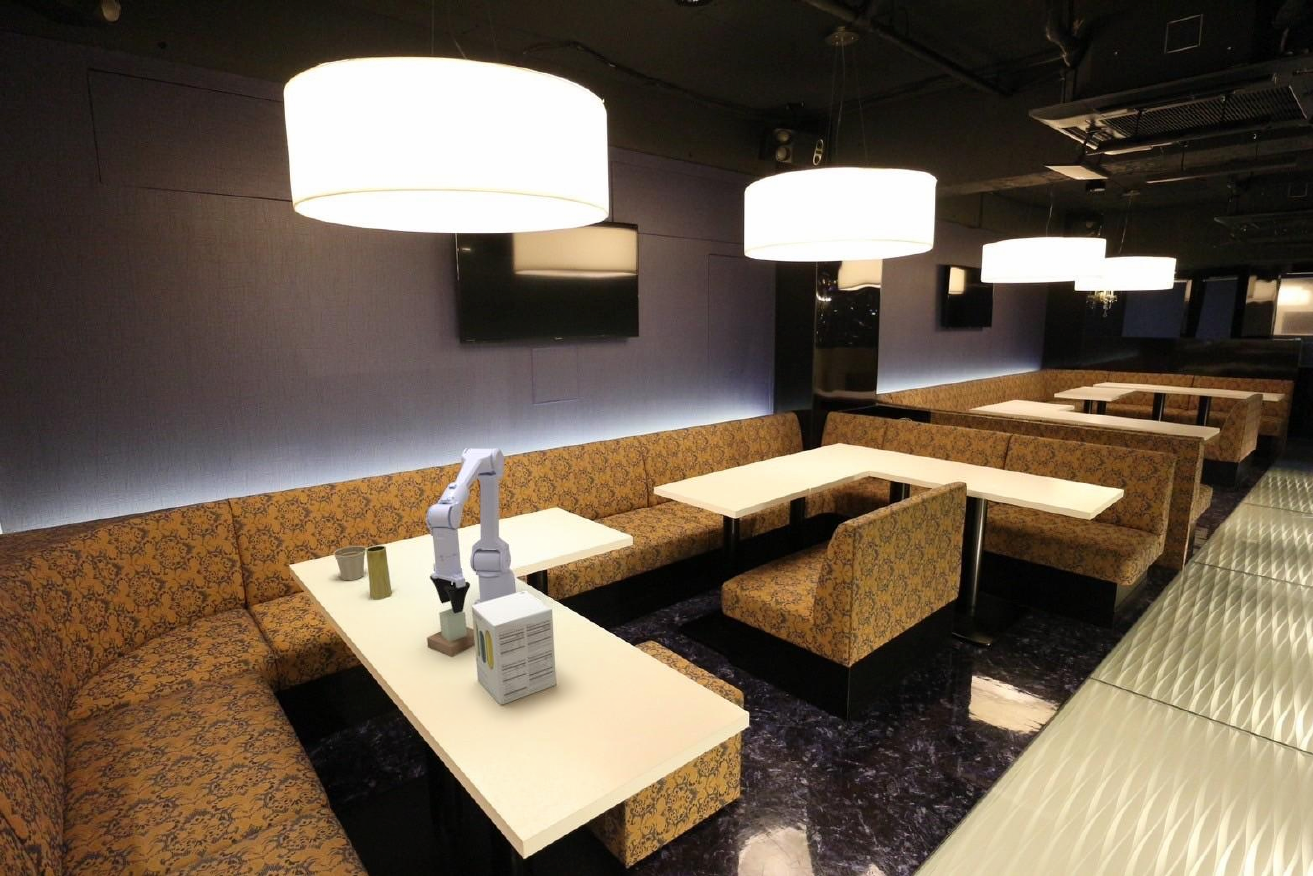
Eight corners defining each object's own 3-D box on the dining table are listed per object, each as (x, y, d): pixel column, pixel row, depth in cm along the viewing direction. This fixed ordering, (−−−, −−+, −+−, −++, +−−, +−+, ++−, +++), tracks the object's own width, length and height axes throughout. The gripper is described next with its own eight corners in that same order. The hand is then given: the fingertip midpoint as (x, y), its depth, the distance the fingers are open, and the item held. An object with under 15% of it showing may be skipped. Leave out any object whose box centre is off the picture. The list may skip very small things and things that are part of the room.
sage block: (458, 629, 165) (456, 607, 164) (467, 635, 162) (465, 612, 161) (441, 635, 162) (439, 612, 161) (449, 642, 159) (447, 618, 158)
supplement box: (475, 679, 146) (469, 604, 143) (531, 660, 154) (526, 589, 151) (499, 706, 136) (493, 626, 133) (558, 685, 143) (553, 608, 140)
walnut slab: (458, 634, 169) (457, 623, 168) (481, 643, 164) (481, 632, 163) (428, 649, 162) (426, 637, 161) (451, 659, 157) (450, 647, 156)
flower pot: (375, 575, 210) (372, 548, 209) (348, 585, 202) (345, 558, 201) (357, 569, 215) (354, 544, 214) (330, 579, 207) (326, 553, 206)
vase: (384, 600, 190) (379, 552, 188) (365, 599, 192) (359, 551, 189) (396, 591, 196) (391, 545, 194) (377, 590, 197) (372, 544, 195)
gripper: (419, 549, 162) (424, 602, 164) (442, 565, 151) (447, 621, 153) (447, 543, 166) (452, 594, 168) (472, 557, 155) (476, 612, 157)
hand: (451, 607), depth 161 cm, fingers open, 7 cm apart
